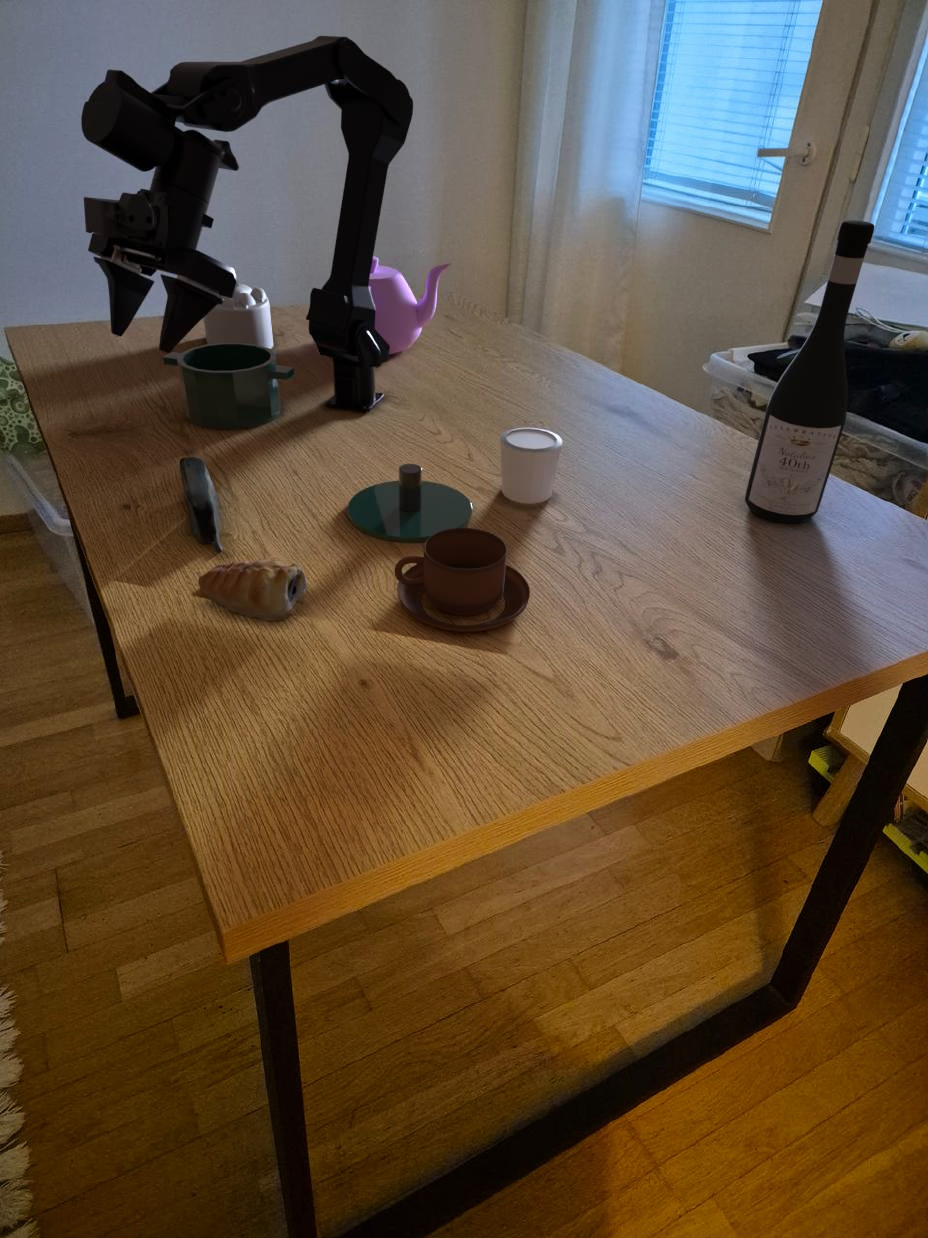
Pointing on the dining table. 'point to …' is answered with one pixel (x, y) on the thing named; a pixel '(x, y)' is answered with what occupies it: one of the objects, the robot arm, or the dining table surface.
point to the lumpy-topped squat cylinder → (241, 319)
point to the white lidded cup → (529, 464)
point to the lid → (408, 508)
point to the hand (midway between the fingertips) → (139, 343)
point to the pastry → (255, 587)
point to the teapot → (401, 305)
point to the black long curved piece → (201, 501)
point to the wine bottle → (809, 400)
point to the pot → (230, 384)
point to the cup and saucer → (462, 579)
